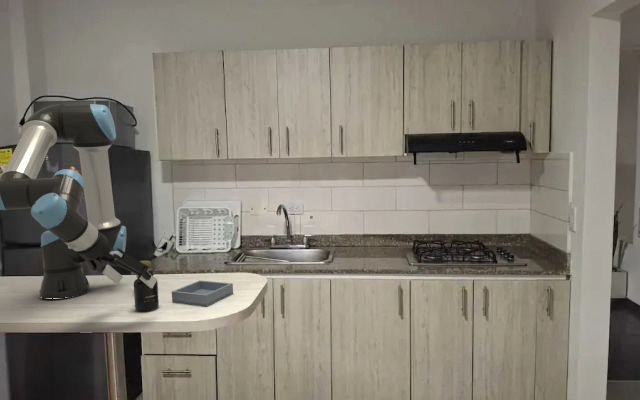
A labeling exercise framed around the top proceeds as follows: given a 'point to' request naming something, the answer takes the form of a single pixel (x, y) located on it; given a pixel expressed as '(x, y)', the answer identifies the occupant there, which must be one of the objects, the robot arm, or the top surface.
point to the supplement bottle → (145, 295)
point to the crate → (202, 293)
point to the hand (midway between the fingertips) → (136, 282)
